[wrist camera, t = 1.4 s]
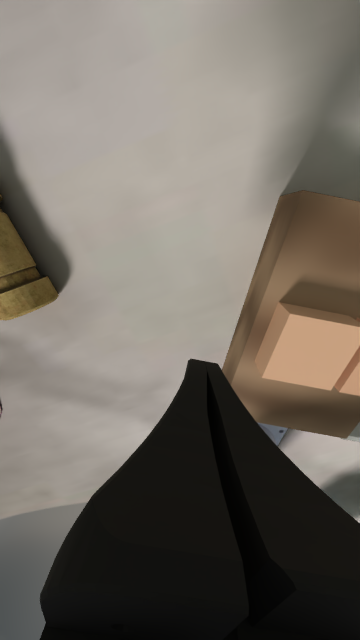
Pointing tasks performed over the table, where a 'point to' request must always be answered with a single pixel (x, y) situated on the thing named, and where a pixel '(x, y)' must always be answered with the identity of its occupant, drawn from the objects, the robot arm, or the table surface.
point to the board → (306, 291)
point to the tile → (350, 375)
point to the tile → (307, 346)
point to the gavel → (19, 276)
